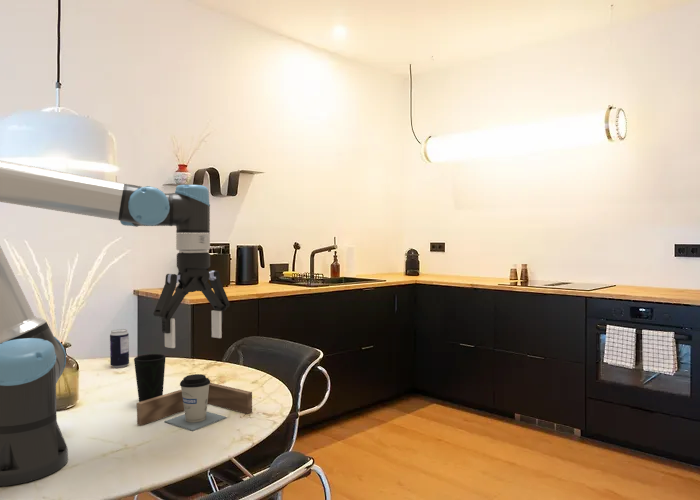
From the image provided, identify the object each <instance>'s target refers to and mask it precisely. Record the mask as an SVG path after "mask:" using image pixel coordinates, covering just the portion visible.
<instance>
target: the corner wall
mask: <svg viewBox="0 0 700 500" xmlns="http://www.w3.org/2000/svg"><path fill="white" fill-rule="evenodd" d="M207 405H212V406H215V407H218V408H219V407H220V408H224V409H227V410H230V411H235V412H239V413H242V414H245V415H246V414H247V415H249V414H252V413H253V392H252V391H249V390H244V389H239V388H235V387H230V386H226V385H222V384H219V383H218V384H217V383H212V382H210V384H209V393H208V403H207ZM181 412H185V411H184V404H183V397H182V390H181V389H178V390H175V391H172V392H168V393H166V394H163V395H161V396H158V397H155V398H151V399H148V400H145V401H141V402H139V401H138V402H136V423H137V424H136V425H138V426H140V427H141V426H145V425H147V424H150V423H153V422H156V421H159V420H162V419H165V418H168V417H170V416H172V415H173V416H174V415H175V414H179V413H181Z"/></svg>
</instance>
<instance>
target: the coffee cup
mask: <svg viewBox="0 0 700 500" xmlns="http://www.w3.org/2000/svg"><path fill="white" fill-rule="evenodd" d="M210 383H211V380H210V379H209V377H207V376H206V375H205V374H201V373H197V374H196V373H195V374H193V373H192V374H189V375H186V376H184V377H183V378H182V380H180V383H179V386H180V388H181V389H180V390H182V397H183V404H184V411H183V412H184V414H185V418H186V421H187V422H200V421H203V420H205V419H206V412H208V404H207V403H208V393H209V384H210Z"/></svg>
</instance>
